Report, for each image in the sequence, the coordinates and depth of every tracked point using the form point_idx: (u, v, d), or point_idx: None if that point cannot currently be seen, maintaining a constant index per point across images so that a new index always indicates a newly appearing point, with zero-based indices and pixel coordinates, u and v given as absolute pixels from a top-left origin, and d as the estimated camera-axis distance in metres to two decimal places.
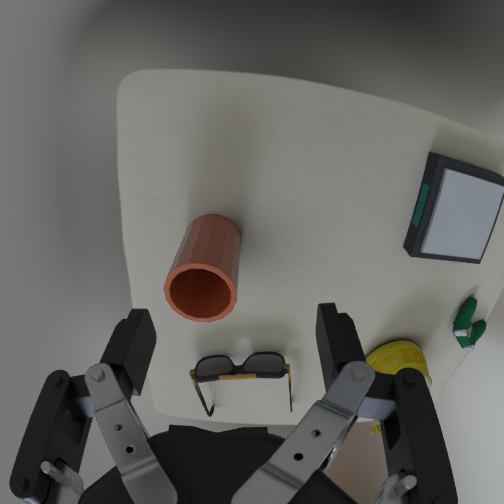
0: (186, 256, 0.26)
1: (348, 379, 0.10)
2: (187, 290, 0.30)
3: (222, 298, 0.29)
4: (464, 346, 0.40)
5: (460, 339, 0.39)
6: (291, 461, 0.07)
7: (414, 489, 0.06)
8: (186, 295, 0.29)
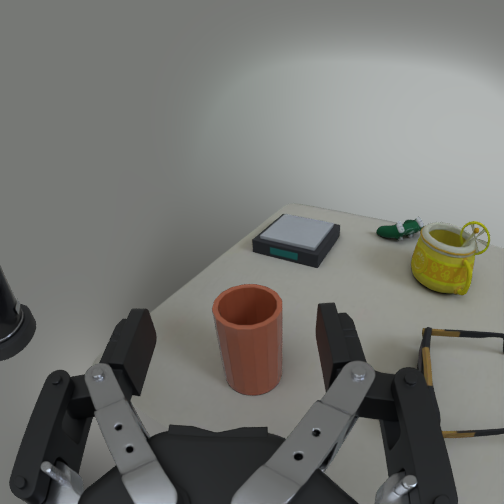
0: None
1: (348, 379, 0.10)
2: None
3: None
4: (418, 225, 0.54)
5: (408, 227, 0.53)
6: (291, 461, 0.07)
7: (414, 489, 0.06)
8: None
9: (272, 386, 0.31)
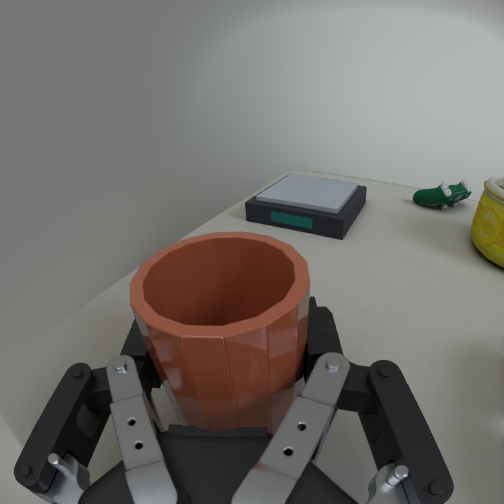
0: None
1: (324, 371, 0.10)
2: None
3: None
4: (465, 189, 0.37)
5: (455, 190, 0.36)
6: (282, 457, 0.07)
7: (407, 478, 0.06)
8: None
9: None
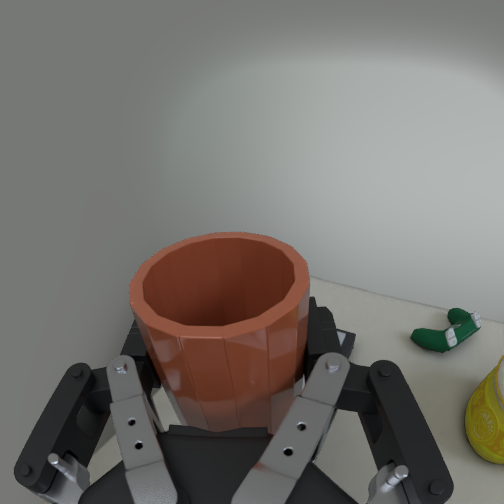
0: None
1: (324, 371, 0.10)
2: None
3: None
4: (474, 326, 0.30)
5: (462, 335, 0.29)
6: (282, 457, 0.07)
7: (407, 478, 0.06)
8: None
9: None
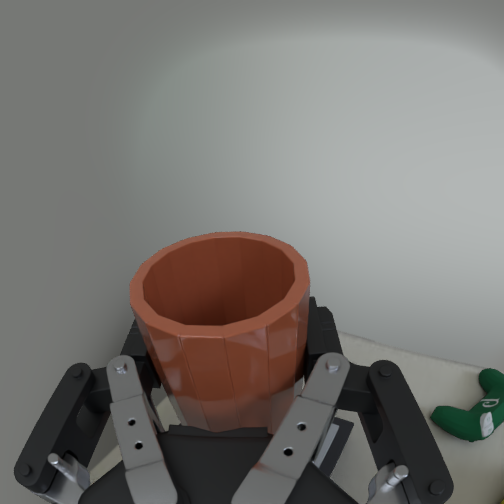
0: None
1: (324, 371, 0.10)
2: None
3: None
4: None
5: (500, 417, 0.17)
6: (282, 457, 0.07)
7: (407, 478, 0.06)
8: None
9: None
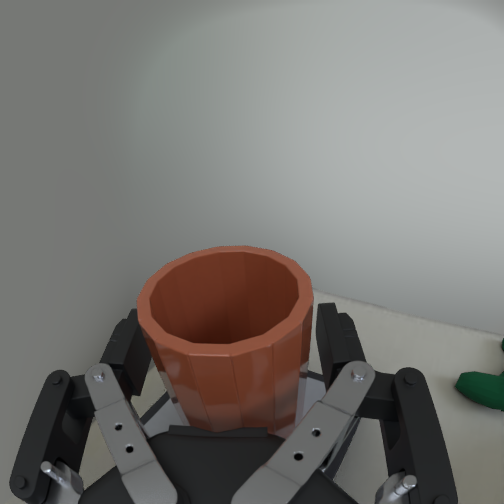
0: None
1: (348, 379, 0.10)
2: None
3: None
4: None
5: None
6: (291, 461, 0.07)
7: (414, 489, 0.06)
8: None
9: None
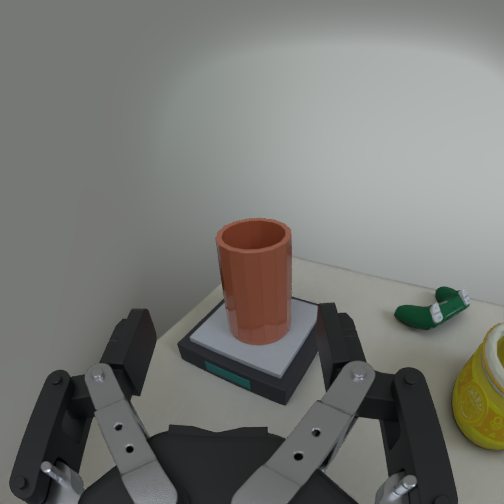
0: None
1: (348, 379, 0.10)
2: None
3: None
4: (462, 303, 0.30)
5: (449, 311, 0.29)
6: (291, 461, 0.07)
7: (414, 489, 0.06)
8: None
9: (281, 334, 0.29)
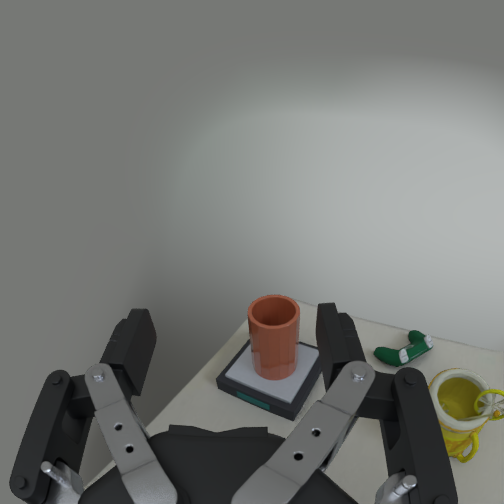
0: None
1: (348, 379, 0.10)
2: None
3: None
4: (426, 347, 0.41)
5: (414, 353, 0.40)
6: (291, 461, 0.07)
7: (414, 489, 0.06)
8: None
9: (290, 373, 0.40)
